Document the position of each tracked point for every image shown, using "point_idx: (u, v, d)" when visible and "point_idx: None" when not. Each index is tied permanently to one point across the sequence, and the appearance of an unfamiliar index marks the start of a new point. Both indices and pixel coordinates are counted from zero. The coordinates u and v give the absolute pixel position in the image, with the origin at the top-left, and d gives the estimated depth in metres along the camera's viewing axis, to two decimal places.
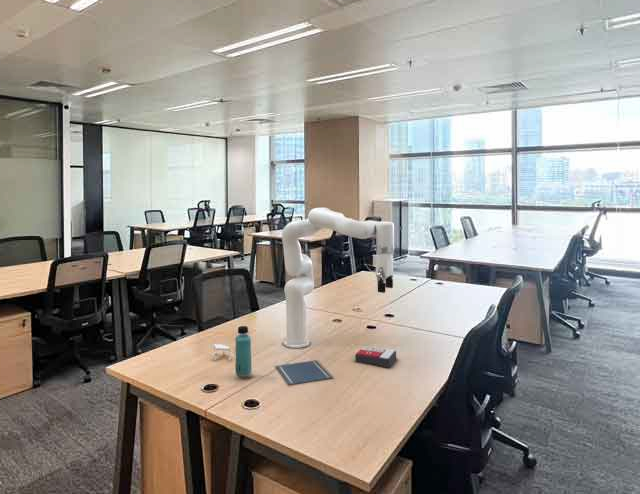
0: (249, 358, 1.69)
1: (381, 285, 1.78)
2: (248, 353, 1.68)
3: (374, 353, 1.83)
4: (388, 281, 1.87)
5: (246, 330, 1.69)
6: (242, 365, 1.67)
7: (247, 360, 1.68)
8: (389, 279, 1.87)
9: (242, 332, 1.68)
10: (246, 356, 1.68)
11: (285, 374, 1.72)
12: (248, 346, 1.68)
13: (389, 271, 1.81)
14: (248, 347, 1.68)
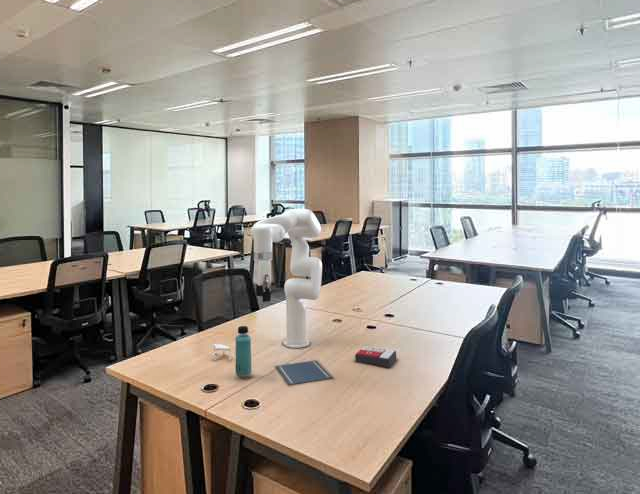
0: (249, 358, 1.69)
1: (267, 294, 1.66)
2: (248, 353, 1.68)
3: (374, 353, 1.83)
4: (259, 289, 1.76)
5: (246, 330, 1.69)
6: (242, 365, 1.67)
7: (247, 360, 1.68)
8: (260, 287, 1.76)
9: (242, 332, 1.68)
10: (246, 356, 1.68)
11: (285, 374, 1.72)
12: (248, 346, 1.68)
13: None
14: (248, 347, 1.68)
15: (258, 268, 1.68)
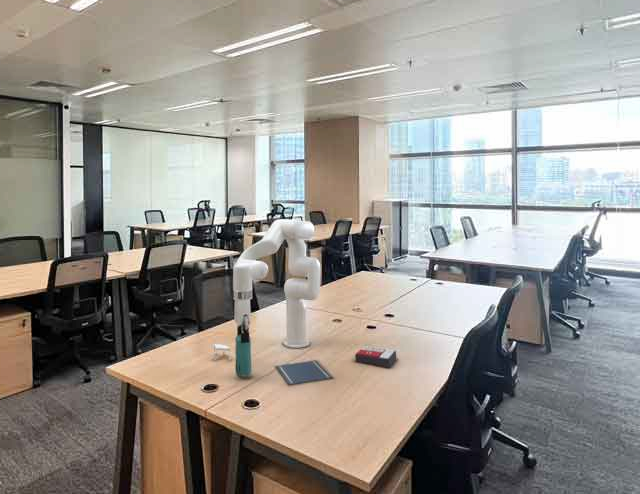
0: (249, 358, 1.69)
1: (246, 335, 1.66)
2: (248, 353, 1.68)
3: (374, 353, 1.83)
4: None
5: None
6: (242, 365, 1.67)
7: (247, 360, 1.68)
8: None
9: None
10: (246, 356, 1.68)
11: (285, 374, 1.72)
12: (248, 346, 1.68)
13: None
14: (248, 347, 1.68)
15: (237, 308, 1.67)
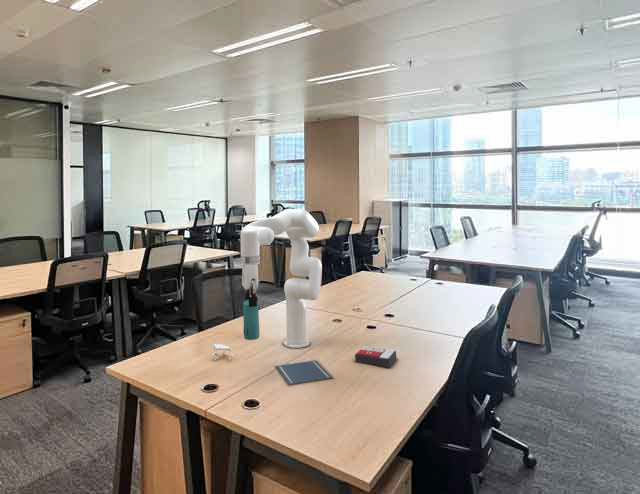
0: (257, 322, 1.70)
1: (254, 299, 1.67)
2: (256, 317, 1.69)
3: (374, 353, 1.83)
4: None
5: None
6: (250, 329, 1.68)
7: (255, 324, 1.69)
8: None
9: None
10: (254, 320, 1.69)
11: (285, 374, 1.72)
12: (256, 310, 1.69)
13: None
14: (256, 311, 1.69)
15: (245, 272, 1.67)
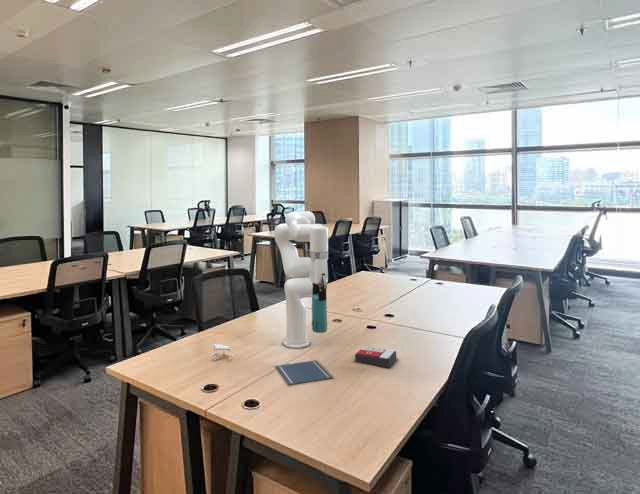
0: (325, 316, 1.76)
1: (324, 293, 1.73)
2: (325, 311, 1.75)
3: (374, 353, 1.83)
4: None
5: None
6: (319, 322, 1.74)
7: (324, 317, 1.75)
8: None
9: None
10: (323, 314, 1.75)
11: (285, 374, 1.72)
12: (325, 304, 1.75)
13: None
14: (325, 305, 1.75)
15: (315, 267, 1.74)
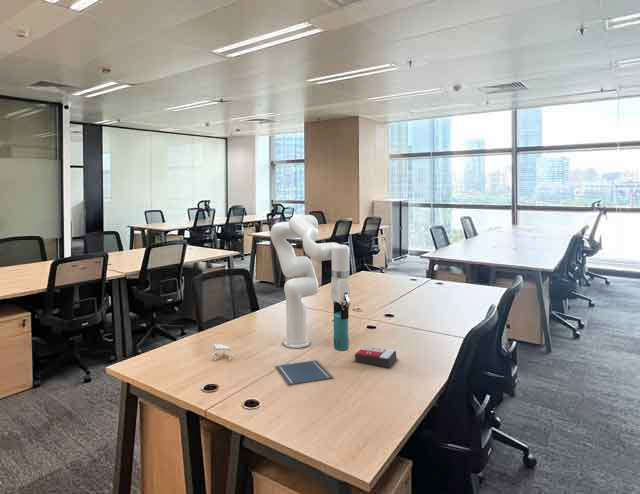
0: (347, 334, 1.78)
1: (346, 312, 1.75)
2: (347, 329, 1.77)
3: (374, 353, 1.83)
4: None
5: None
6: (342, 340, 1.76)
7: (346, 336, 1.77)
8: None
9: None
10: (345, 332, 1.77)
11: (285, 374, 1.72)
12: (347, 323, 1.78)
13: None
14: (347, 323, 1.77)
15: (337, 286, 1.76)
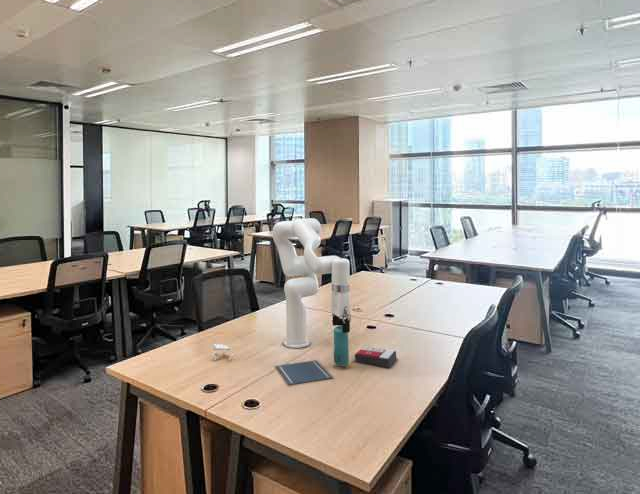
0: (347, 349, 1.78)
1: (347, 325, 1.74)
2: (347, 344, 1.77)
3: (374, 353, 1.83)
4: (336, 319, 1.84)
5: None
6: (342, 355, 1.76)
7: (346, 350, 1.77)
8: (337, 316, 1.84)
9: (341, 324, 1.77)
10: (345, 347, 1.77)
11: (285, 374, 1.72)
12: (347, 337, 1.78)
13: None
14: (347, 338, 1.77)
15: (337, 300, 1.76)
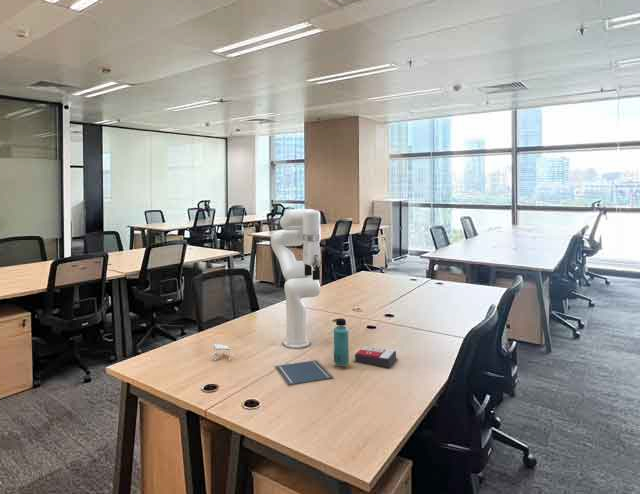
0: (347, 349, 1.78)
1: (317, 272, 1.81)
2: (347, 344, 1.77)
3: (374, 353, 1.83)
4: (308, 269, 1.90)
5: (344, 322, 1.78)
6: (342, 355, 1.76)
7: (346, 350, 1.77)
8: (309, 267, 1.90)
9: (341, 324, 1.77)
10: (345, 347, 1.77)
11: (285, 374, 1.72)
12: (347, 337, 1.78)
13: None
14: (347, 338, 1.77)
15: (308, 249, 1.83)
